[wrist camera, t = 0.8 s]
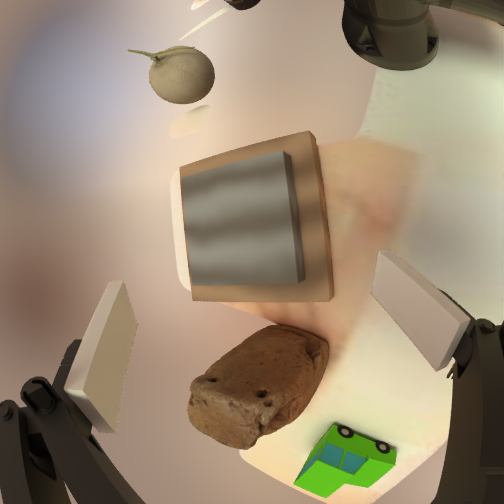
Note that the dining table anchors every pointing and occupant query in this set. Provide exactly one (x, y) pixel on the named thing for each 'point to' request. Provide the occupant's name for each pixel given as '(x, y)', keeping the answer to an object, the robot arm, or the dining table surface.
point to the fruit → (180, 74)
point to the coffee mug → (242, 3)
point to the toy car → (344, 462)
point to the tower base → (308, 224)
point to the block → (258, 386)
